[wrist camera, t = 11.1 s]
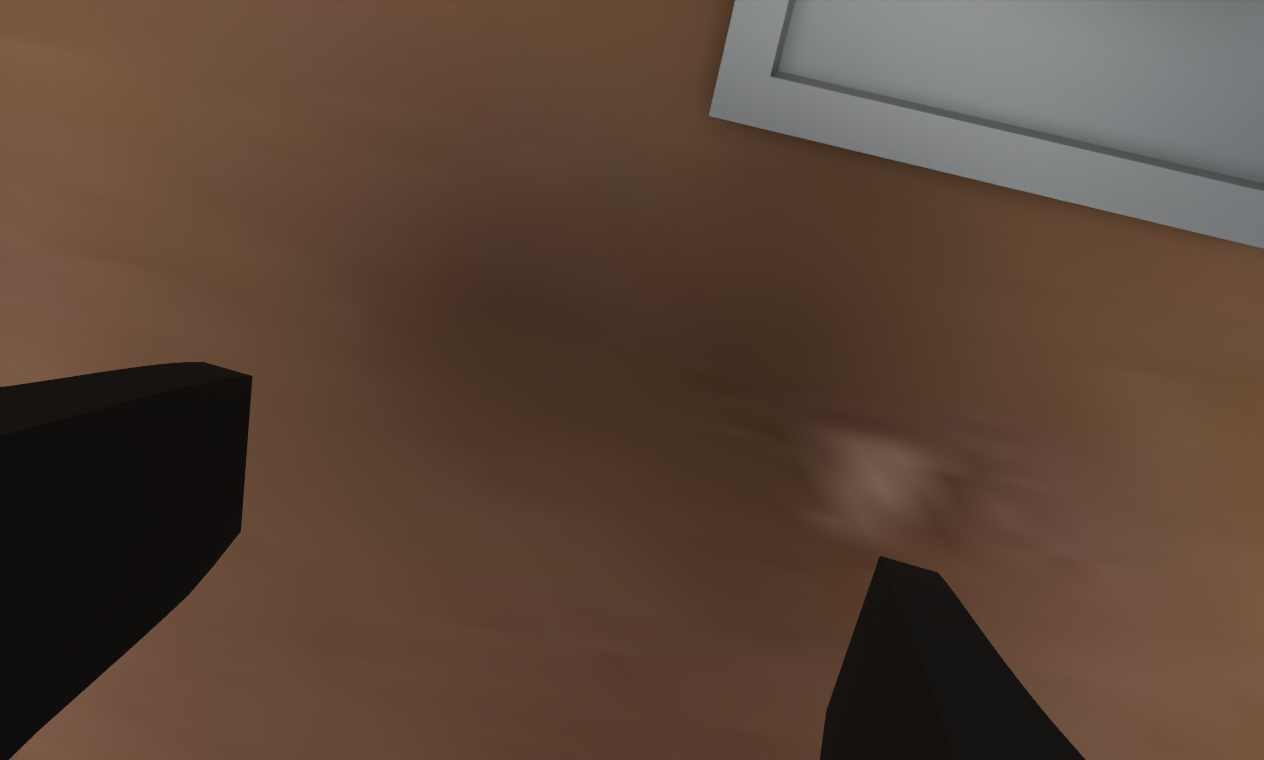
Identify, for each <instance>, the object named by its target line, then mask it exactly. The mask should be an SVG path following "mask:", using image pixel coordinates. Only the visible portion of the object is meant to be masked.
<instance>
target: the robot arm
mask: <svg viewBox="0 0 1264 760" xmlns="http://www.w3.org/2000/svg"><path fill="white" fill-rule="evenodd" d="M251 387H252V376H250V375H247V374H243V373H240V372H236V371H233V370H229V369H226V368H222V367H219V366H215V365H212V364H208V363H205V362H183V363H169V364H159V365H150V366H142V367H134V368H127V369H120V370H113V371H106V372H100V373H93V374H86V375H80V376H73V377H67V378H60V379H54V380H47V381H40V382H34V383H27V384H21V385H14V386H6V387H0V760H9V759H10V758H11V757H12V756H13V755H14V754H15V753H16V752H17V751H18V750H19V749H20V748H21V747H22V746H23V745H24V744H25V743H26V742H27V741H28V740H29V739H30V738H31V737H33V736H34V735H35V734H36V733H37V732H38V731H39V730H40V729H41V728H42V727H43V726H44V725H46V724H47V723H48V722H49V721H50V720H51V719H52V718H53V717H54V716H56V715H57V714H58V713H59V712H60V711H61V710H62V709H63V708H65V707H66V706H67V705H68V704H69V703H70V702H71V701H72V700H73V699H75V698H76V697H77V696H78V695H79V694H80V693H81V692H82V691H83V690H85V689H86V688H87V687H88V686H89V685H90V684H91V683H92V682H94V681H95V680H96V679H97V678H98V677H99V676H100V675H101V674H102V673H104V672H105V671H106V670H107V669H108V668H109V667H110V666H111V665H113V664H114V663H115V662H116V661H117V660H118V659H119V658H120V657H122V656H123V655H124V654H125V653H126V652H127V651H128V650H129V649H130V648H132V647H133V646H134V645H135V644H136V643H137V642H138V641H139V640H140V639H142V638H143V637H144V636H145V635H146V634H147V633H148V632H149V631H150V630H151V629H152V628H154V627H155V626H156V625H157V624H158V623H159V622H160V621H161V620H162V619H163V618H164V617H166V616H167V615H168V614H169V613H170V612H171V611H172V610H173V609H174V608H175V607H176V606H177V605H178V604H179V603H181V602H182V601H183V600H184V599H185V598H186V597H187V596H188V595H189V594H190V593H191V591H192V590H193V589H194V588H195V587H196V586H197V584H198V583H199V582H200V581H201V580H202V579H203V577H204V576H205V575H206V574H207V573H208V572H209V571H210V569H211V568H212V567H213V566H214V565H215V563H216V562H217V561H218V559H219V558H220V557H221V556H222V554H223V553H224V552H225V551H226V549H227V548H228V547H229V546H230V544H231V543H232V542H233V540H234V539H235V538H236V537H237V535H238V534H239V533H240V532H241V521H242V508H243V494H244V481H245V468H246V454H247V441H248V427H249V414H250V401H251ZM820 760H1085V759H1084V758H1083V756H1082V755H1081V754H1080V753H1079V752H1078V751H1077V750H1076V748H1075V747H1074V746H1073V745H1072V744H1071V743H1070V742H1069V740H1068V739H1067V738H1066V737H1065V736H1064V735H1063V734H1062V732H1061V731H1060V730H1059V729H1058V728H1057V727H1056V726H1055V724H1054V723H1053V722H1052V721H1051V720H1050V719H1049V717H1048V716H1047V715H1046V714H1045V712H1044V711H1043V710H1042V709H1041V708H1040V706H1039V705H1038V704H1037V703H1036V701H1035V700H1034V699H1033V698H1032V697H1031V695H1030V694H1029V693H1028V692H1027V690H1026V689H1025V688H1024V686H1023V685H1022V684H1021V683H1020V681H1019V680H1018V679H1017V678H1016V676H1015V675H1014V674H1013V672H1012V671H1011V670H1010V668H1009V667H1008V666H1007V664H1006V663H1005V662H1004V661H1003V659H1002V658H1001V657H1000V655H999V654H998V652H997V651H996V650H995V648H994V647H993V646H992V644H991V643H990V642H989V640H988V639H987V638H986V636H985V635H984V633H983V632H982V631H981V629H980V628H979V627H978V625H977V624H976V622H975V621H974V620H973V618H972V617H971V616H970V614H969V613H968V611H967V610H966V609H965V607H964V606H963V605H962V603H961V602H960V600H959V599H958V598H957V596H956V595H955V594H954V592H953V591H952V590H951V588H950V587H949V586H948V584H947V583H946V582H945V580H944V579H943V578H942V577H941V576H940V575H939V573H937V572H934V571H930V570H927V569H923V568H920V567H916V566H913V565H909V564H906V563H903V562H899V561H896V560H892V559H889V558H885V557H882V556H880V557H879V560H878V563H877V566H876V569H875V572H874V575H873V577H872V580H871V583H870V586H869V589H868V592H867V595H866V598H865V601H864V603H863V606H862V609H861V612H860V615H859V618H858V621H857V624H856V627H855V630H854V632H853V635H852V638H851V641H850V644H849V647H848V650H847V653H846V656H845V658H844V661H843V664H842V667H841V670H840V673H839V676H838V679H837V682H836V684H835V687H834V690H833V693H832V696H831V699H830V702H829V705H828V708H827V711H826V718H825V725H824V733H823V741H822V748H821V756H820Z"/></svg>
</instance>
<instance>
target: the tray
mask: <svg viewBox="0 0 1264 760" xmlns="http://www.w3.org/2000/svg"><path fill="white" fill-rule="evenodd" d="M709 116H711V117H715V118H719V119H724V120H728V121H732V122H736V123H740V124H745V125H749V126H753V127H757V128H761V129H765V130H770V131H774V132H778V133H782V134H786V135H791V136H795V137H799V138H803V139H807V140H811V141H816V142H820V143H824V144H828V145H832V146H837V147H841V148H845V149H849V150H853V151H858V152H862V153H866V154H870V155H874V156H878V157H883V158H887V159H891V160H895V161H899V162H904V163H908V164H912V165H916V166H920V167H924V168H929V169H933V170H937V171H941V172H945V173H950V174H954V175H958V176H962V177H966V178H970V179H975V180H979V181H983V182H987V183H991V184H996V185H1000V186H1004V187H1008V188H1012V189H1016V190H1021V191H1025V192H1029V193H1033V194H1037V195H1042V196H1046V197H1050V198H1054V199H1058V200H1062V201H1067V202H1071V203H1075V204H1079V205H1083V206H1088V207H1092V208H1096V209H1100V210H1104V211H1108V212H1113V213H1117V214H1121V215H1125V216H1129V217H1134V218H1138V219H1142V220H1146V221H1150V222H1154V223H1159V224H1163V225H1167V226H1171V227H1175V228H1180V229H1184V230H1188V231H1192V232H1196V233H1200V234H1205V235H1209V236H1213V237H1217V238H1221V239H1226V240H1230V241H1234V242H1238V243H1242V244H1246V245H1251V246H1255V247H1259V248H1263V249H1264V0H735V4H734V8H733V12H732V17H731V21H730V25H729V30H728V34H727V38H726V43H725V47H724V52H723V56H722V60H721V65H720V69H719V73H718V78H717V82H716V86H715V91H714V95H713V100H712V104H711V108H710V113H709Z"/></svg>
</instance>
